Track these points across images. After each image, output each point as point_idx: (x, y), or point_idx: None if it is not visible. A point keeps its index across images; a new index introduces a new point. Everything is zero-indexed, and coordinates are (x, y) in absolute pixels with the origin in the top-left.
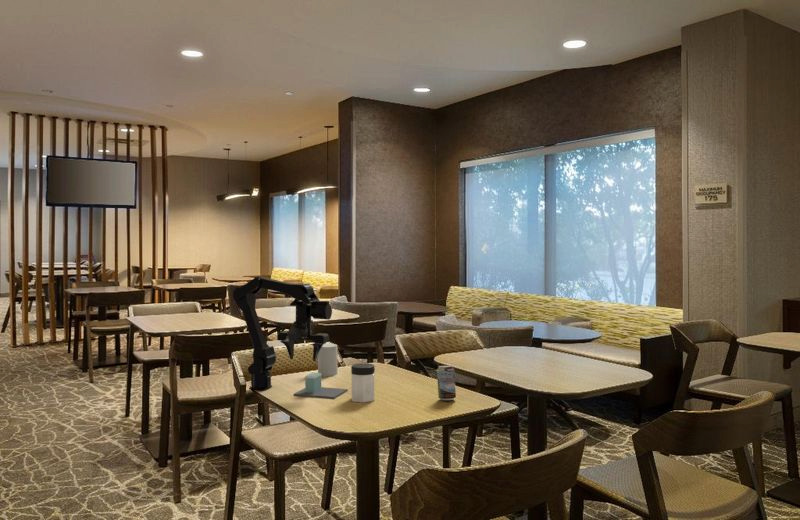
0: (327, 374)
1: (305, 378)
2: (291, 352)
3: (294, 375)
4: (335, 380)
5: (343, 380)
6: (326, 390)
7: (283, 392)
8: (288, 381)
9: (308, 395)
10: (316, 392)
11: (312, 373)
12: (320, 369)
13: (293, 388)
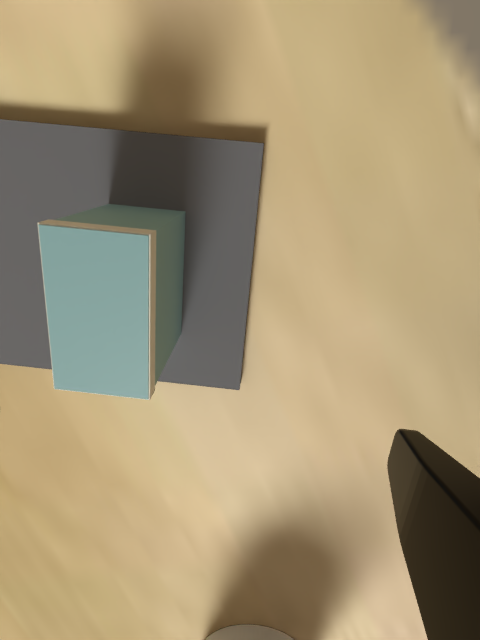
0: (235, 635)
1: (154, 231)
2: (449, 538)
3: None
4: (151, 555)
5: (107, 559)
6: None
7: (381, 225)
8: None
9: (125, 131)
10: None
11: (129, 360)
12: None
13: (341, 352)
